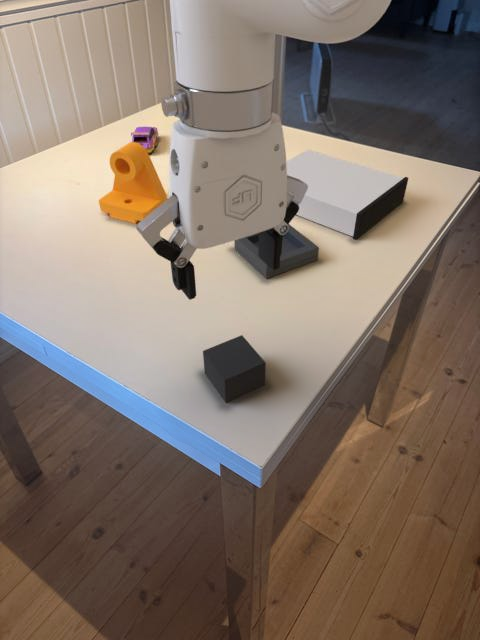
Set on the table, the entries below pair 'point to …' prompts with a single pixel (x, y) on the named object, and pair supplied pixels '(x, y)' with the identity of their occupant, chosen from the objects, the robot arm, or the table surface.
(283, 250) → the base pad
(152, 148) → the toy car
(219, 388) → the black block
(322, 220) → the disc drive
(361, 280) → the table surface
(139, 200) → the bracket
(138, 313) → the table surface
